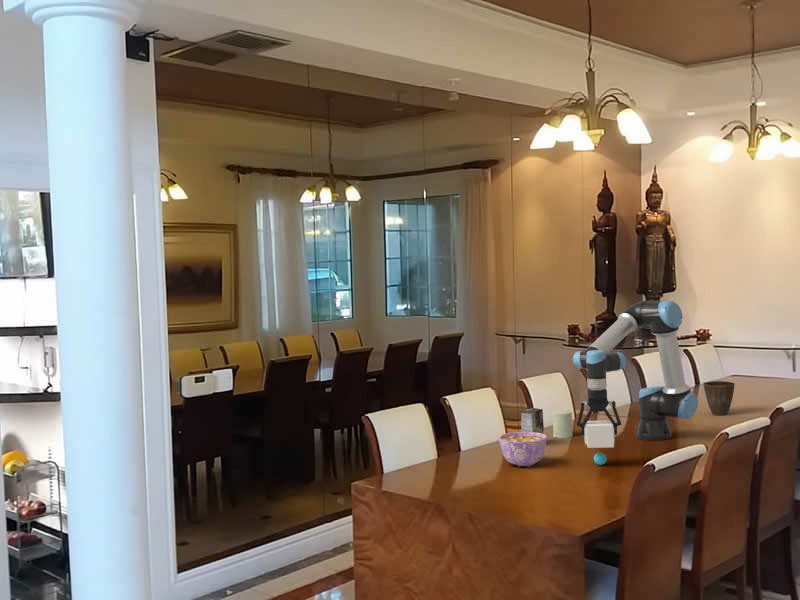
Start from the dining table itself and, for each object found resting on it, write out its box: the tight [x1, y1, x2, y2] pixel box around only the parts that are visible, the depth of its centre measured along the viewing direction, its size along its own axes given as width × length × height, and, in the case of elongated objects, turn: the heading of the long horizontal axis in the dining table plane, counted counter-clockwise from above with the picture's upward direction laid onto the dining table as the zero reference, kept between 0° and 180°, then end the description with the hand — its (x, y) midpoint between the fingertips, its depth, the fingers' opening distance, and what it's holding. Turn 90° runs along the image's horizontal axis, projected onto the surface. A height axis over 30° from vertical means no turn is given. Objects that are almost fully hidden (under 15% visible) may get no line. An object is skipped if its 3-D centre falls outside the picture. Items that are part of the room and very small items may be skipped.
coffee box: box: [520, 407, 545, 434], centre depth 370 cm, size 9×6×16 cm
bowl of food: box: [498, 431, 548, 467], centre depth 336 cm, size 20×20×12 cm
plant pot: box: [703, 380, 736, 417], centre depth 414 cm, size 15×15×16 cm
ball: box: [593, 452, 607, 466], centre depth 328 cm, size 5×5×5 cm
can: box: [551, 409, 574, 439], centre depth 385 cm, size 9×9×12 cm
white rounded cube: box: [585, 420, 615, 449], centre depth 327 cm, size 10×10×9 cm
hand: (599, 442), depth 327 cm, fingers closed on white rounded cube, 10 cm apart
